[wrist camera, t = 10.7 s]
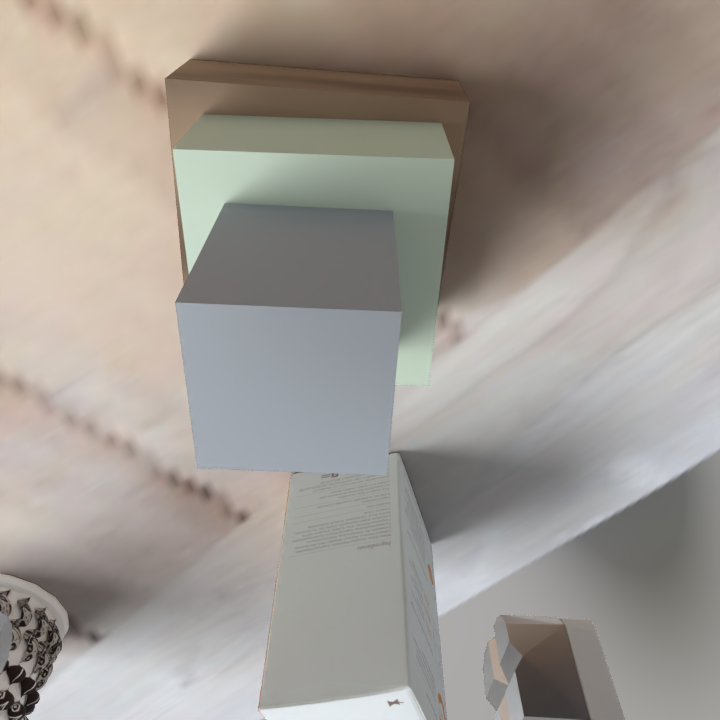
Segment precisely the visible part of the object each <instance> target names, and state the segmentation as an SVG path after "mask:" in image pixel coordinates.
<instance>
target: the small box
mask: <svg viewBox="0 0 720 720" xmlns="http://www.w3.org/2000/svg"><path fill="white" fill-rule="evenodd" d="M258 710H259V712H260V713H261V714H262V716H263V717H264V718H265V720H447V714H446V702H445V691H444V680H443V668H442V657H441V645H440V635H439V625H438V614H437V603H436V592H435V580H434V569H433V556H432V546H431V543H430V540H429V536H428V533H427V530H426V527H425V524H424V521H423V518H422V515H421V512H420V510H419V507H418V504H417V501H416V498H415V495H414V492H413V490H412V487H411V484H410V481H409V478H408V475H407V472H406V470H405V467H404V464H403V462H402V459H401V456H400V454H399V453H392V454H389V457H388V468H387V475H363V474H336V473H309V472H301V473H296V474H293V475H291V478H290V484H289V491H288V498H287V505H286V513H285V521H284V528H283V536H282V543H281V550H280V557H279V564H278V571H277V578H276V585H275V593H274V600H273V608H272V615H271V622H270V629H269V637H268V644H267V651H266V659H265V666H264V673H263V680H262V686H261V693H260V700H259V706H258Z"/></svg>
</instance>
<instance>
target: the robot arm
mask: <svg viewBox="0 0 720 720" xmlns="http://www.w3.org/2000/svg"><path fill="white" fill-rule="evenodd" d="M1 601H2V600H1V598H0V603H1ZM494 632H495V637H494V638H492V639H491V640H489V641H488V643H487V646H486V649H485V653H484V665H483V673H484V685H485V692H486V699H487V700H488V701H489V702H490V704H491V705H492V706H493V707H494V709H495V710H496V711H497V713H496V715H495V717H494V720H625V717H624V714H623V711H622V708H621V705H620V702H619V699H618V696H617V693H616V690H615V686H614V683H613V681H612V677H611V674H610V671H609V668H608V664H607V661H606V658H605V655H604V652H603V649H602V646H601V643H600V640H599V636H598V633H597V630H596V627H595V626H594V624H593V623H592V622H591V621H590V620H588V619H581V618H560V617H547V616H516V615H500V616H498V617H497V619H496V621H495V624H494ZM12 639H13V637H12V625H11V622H10V619H9V617H8V616H7V615H5V614H4V613H2V612H1V611H0V675H1V673H2V671H3V669H4V666H5V664H6V662H7V659H8V657H9V652H10V648H11V643H12Z"/></svg>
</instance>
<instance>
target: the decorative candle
mask: <svg viewBox="0 0 720 720" xmlns="http://www.w3.org/2000/svg"><path fill="white" fill-rule="evenodd" d="M0 598H1V600H2V601H1V603H0V611H1V612H2V613H4V614H5V615H7V616H8V617H9V619H10V622H11V625H12V637H13V639H12V643H11V648H10V652H9V657H8V659H7V662H6V664H5V666H4V669H3V671H2V673H1V675H0V720H28V718H27V717H26V716H25V715H29V714H31V713H32V712H33V710H34V708H35V704H37V703H38V701H39V699H40V695H39V693H38V692H37V690H39V689H41V688H42V687H43V686H44V685H45V683H46V682H47V680H48V677H49V676H50V675H51V673H52V670H53V663H54V661H55V660H56V658H57V655H58V654H59V653H60V651H61V649H62V641H61V640H62V639H63V637H64V636H65V634H66V633H67V631H68V629H69V620H68V613H67V611H66V610H65V608H64V607H63V606H62V605H61V603H60V602H59V601H58V600H57V598H56V597H55V596H53V595H51V594H50V593H48V592H47V591H45V590H44V589H42V588H41V587H39V586H38V585H36V584H34V583H31V582H28V581H25V580H22V579H20V578H17V577H14V576H11V575H5V574H0Z"/></svg>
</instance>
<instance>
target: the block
mask: <svg viewBox="0 0 720 720" xmlns="http://www.w3.org/2000/svg"><path fill="white" fill-rule="evenodd" d="M175 305H176V312H177V320H178V327H179V335H180V342H181V349H182V357H183V364H184V372H185V379H186V387H187V394H188V401H189V409H190V416H191V424H192V431H193V438H194V446H195V453H196V461H197V468H202V469H228V470H255V471H282V472H309V473H336V474H363V475H387V468H388V457H389V446H390V435H391V425H392V414H393V403H394V392H395V381H396V370H397V359H398V349H399V338H400V327H401V316H402V308H401V297H400V286H399V274H398V263H397V252H396V241H395V230H394V219H393V211H385V210H364V209H342V208H320V207H298V206H276V205H254V204H232V203H224V205H223V207H222V209H221V211H220V213H219V215H218V217H217V219H216V221H215V223H214V225H213V227H212V229H211V231H210V233H209V235H208V237H207V239H206V241H205V243H204V246H203V248H202V250H201V252H200V254H199V256H198V258H197V260H196V262H195V264H194V266H193V268H192V270H191V272H190V274H189V276H188V278H187V280H186V282H185V284H184V286H183V288H182V290H181V292H180V294H179V296H178V298H177V300H176V302H175Z"/></svg>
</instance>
